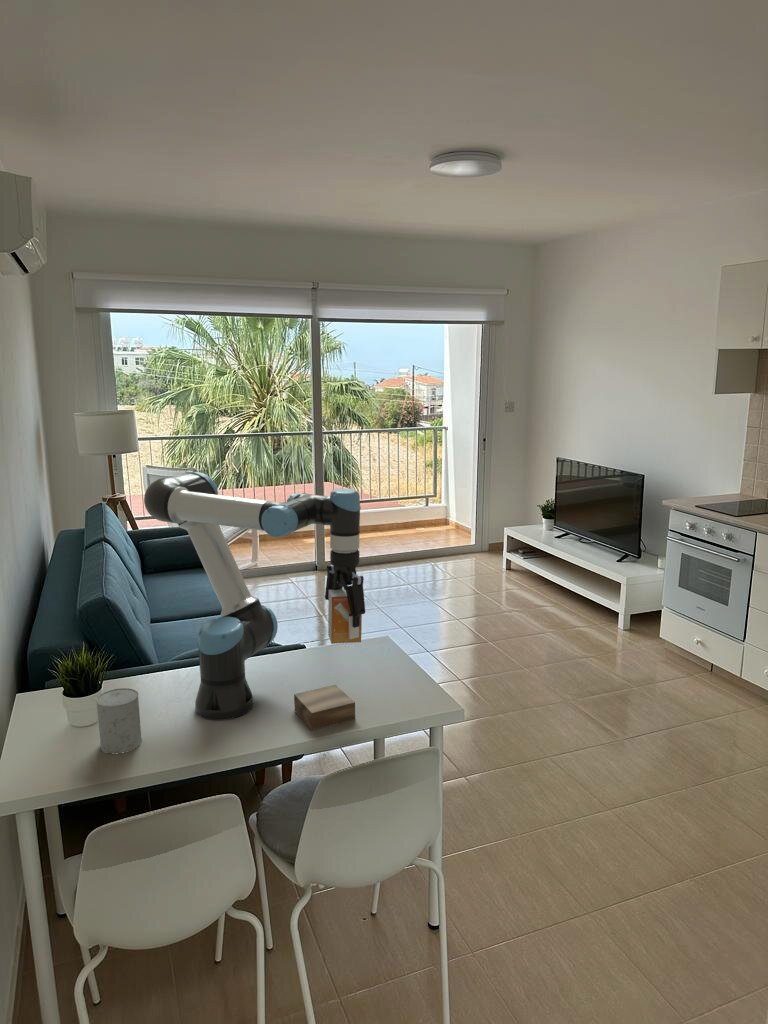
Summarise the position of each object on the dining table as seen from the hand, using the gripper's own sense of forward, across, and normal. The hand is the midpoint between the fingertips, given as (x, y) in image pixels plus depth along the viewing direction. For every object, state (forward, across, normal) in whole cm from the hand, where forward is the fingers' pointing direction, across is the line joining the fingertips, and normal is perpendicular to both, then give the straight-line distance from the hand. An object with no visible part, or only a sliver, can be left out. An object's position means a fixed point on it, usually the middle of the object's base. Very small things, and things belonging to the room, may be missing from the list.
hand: (344, 632), depth 192 cm
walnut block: (+21, -2, +7) cm, 22 cm away
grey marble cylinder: (+22, +15, +54) cm, 61 cm away
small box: (+2, 0, 0) cm, 2 cm away
